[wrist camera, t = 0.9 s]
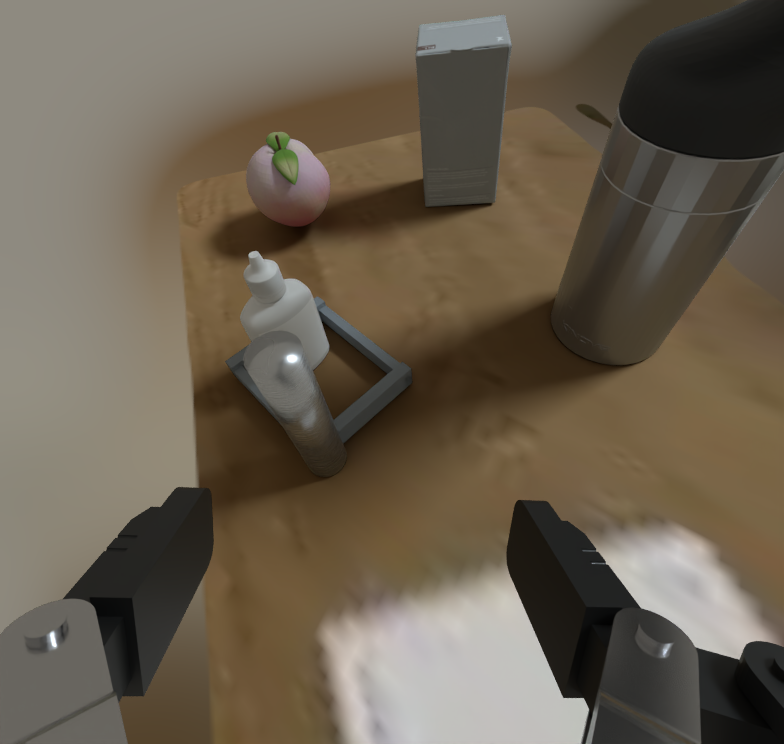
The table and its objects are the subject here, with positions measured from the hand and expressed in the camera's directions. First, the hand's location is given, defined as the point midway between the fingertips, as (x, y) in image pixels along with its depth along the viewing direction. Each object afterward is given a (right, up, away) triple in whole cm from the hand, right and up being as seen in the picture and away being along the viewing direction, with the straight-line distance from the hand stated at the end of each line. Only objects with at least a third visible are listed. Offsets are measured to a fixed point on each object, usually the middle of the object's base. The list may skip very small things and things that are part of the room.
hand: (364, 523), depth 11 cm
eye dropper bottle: (-7, +5, +27) cm, 28 cm away
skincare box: (+9, +25, +39) cm, 47 cm away
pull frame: (-5, +3, +25) cm, 26 cm away
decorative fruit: (-10, +21, +38) cm, 45 cm away
